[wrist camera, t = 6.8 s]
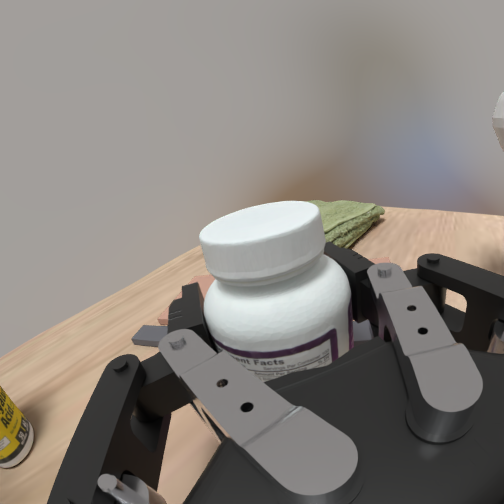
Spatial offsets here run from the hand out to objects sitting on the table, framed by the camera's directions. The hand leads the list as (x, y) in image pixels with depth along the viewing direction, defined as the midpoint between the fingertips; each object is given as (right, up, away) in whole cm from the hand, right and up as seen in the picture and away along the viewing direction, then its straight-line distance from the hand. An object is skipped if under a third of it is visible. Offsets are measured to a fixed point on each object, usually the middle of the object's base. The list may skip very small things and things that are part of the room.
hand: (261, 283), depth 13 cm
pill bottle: (+2, -6, 0) cm, 7 cm away
